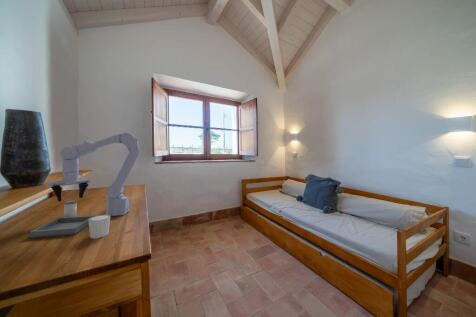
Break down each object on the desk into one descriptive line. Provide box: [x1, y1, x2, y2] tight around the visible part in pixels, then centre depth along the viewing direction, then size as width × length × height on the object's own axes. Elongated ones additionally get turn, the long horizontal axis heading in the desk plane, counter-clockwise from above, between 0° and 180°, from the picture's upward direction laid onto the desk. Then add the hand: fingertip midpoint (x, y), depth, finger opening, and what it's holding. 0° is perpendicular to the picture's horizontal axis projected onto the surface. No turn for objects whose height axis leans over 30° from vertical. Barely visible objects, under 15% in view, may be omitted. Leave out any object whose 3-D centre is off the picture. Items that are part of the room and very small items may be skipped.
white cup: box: [88, 214, 111, 239], centre depth 66 cm, size 7×7×7 cm
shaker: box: [63, 200, 78, 217], centre depth 82 cm, size 5×5×8 cm
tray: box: [29, 215, 96, 239], centre depth 71 cm, size 14×14×2 cm
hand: (70, 199), depth 81 cm, fingers open, 7 cm apart
